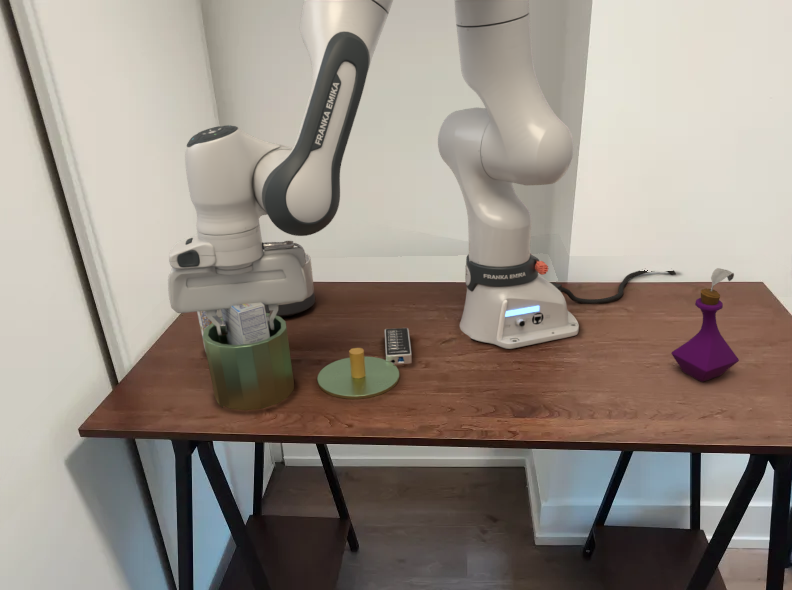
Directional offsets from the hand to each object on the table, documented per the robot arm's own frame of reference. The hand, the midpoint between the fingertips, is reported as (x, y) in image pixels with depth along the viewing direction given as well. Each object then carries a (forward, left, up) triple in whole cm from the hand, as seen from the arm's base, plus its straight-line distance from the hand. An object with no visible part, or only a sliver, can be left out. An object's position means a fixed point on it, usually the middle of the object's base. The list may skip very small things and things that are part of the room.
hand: (246, 331), depth 107 cm
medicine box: (0, 0, -4) cm, 4 cm away
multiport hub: (-25, -9, -11) cm, 29 cm away
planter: (-5, -34, -11) cm, 36 cm away
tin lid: (-17, 0, -10) cm, 20 cm away
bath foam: (+6, -17, -11) cm, 21 cm away
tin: (0, 0, -11) cm, 11 cm away
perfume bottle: (-73, +10, -11) cm, 74 cm away
